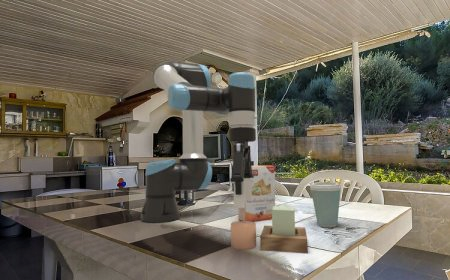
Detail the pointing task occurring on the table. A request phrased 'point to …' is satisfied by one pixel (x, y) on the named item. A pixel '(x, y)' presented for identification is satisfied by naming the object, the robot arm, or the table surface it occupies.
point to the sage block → (283, 220)
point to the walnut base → (284, 241)
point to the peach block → (243, 235)
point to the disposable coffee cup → (326, 202)
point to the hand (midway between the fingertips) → (243, 203)
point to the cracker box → (260, 195)
